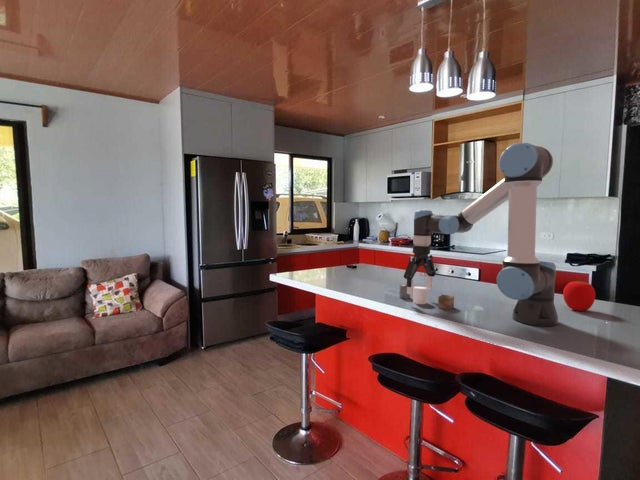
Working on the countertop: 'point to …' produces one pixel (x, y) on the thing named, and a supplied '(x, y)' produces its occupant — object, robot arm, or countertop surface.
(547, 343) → the countertop surface
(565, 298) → the tomato
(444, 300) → the walnut block
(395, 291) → the countertop surface
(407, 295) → the dark grey cylinder
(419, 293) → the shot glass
